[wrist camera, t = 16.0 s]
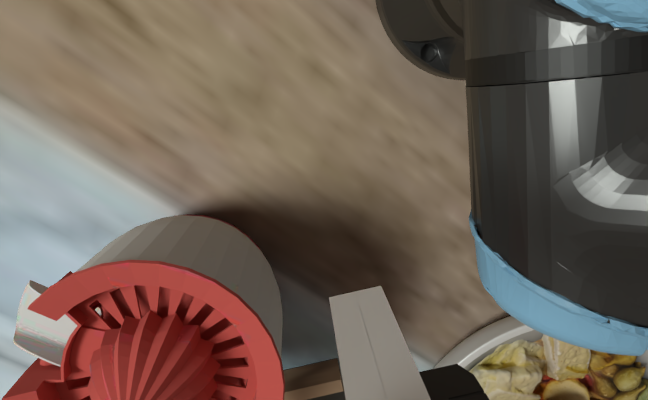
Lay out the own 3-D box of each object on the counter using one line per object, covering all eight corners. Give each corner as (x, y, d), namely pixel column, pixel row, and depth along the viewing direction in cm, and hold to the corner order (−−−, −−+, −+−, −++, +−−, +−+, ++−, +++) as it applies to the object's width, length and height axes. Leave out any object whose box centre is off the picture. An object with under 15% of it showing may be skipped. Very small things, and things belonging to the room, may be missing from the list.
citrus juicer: (118, 160, 42) (-36, 225, 22) (313, 229, 44) (329, 342, 25) (68, 323, 45) (-106, 507, 25) (254, 379, 47) (226, 588, 27)
